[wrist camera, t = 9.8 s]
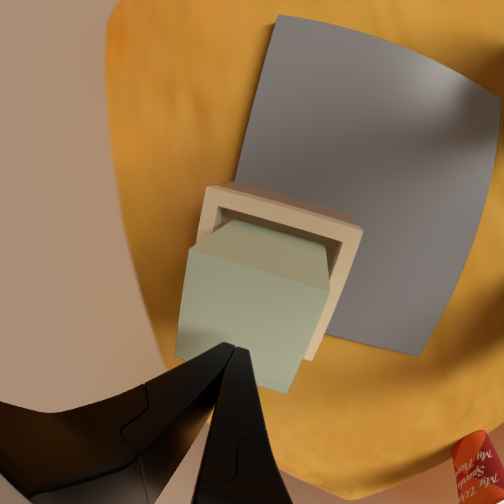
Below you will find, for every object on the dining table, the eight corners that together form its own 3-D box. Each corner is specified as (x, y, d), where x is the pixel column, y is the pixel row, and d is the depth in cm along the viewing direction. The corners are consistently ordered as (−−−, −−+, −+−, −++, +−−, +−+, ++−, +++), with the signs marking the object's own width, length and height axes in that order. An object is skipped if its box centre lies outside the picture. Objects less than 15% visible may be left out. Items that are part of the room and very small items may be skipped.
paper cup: (475, 421, 21) (503, 507, 8) (500, 427, 21) (527, 499, 8) (433, 457, 24) (446, 539, 11) (462, 460, 23) (478, 531, 10)
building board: (495, 101, 13) (540, 89, 7) (415, 349, 20) (435, 397, 15) (279, 20, 16) (265, -25, 10) (213, 292, 23) (181, 332, 17)
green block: (324, 244, 15) (330, 291, 9) (297, 323, 16) (286, 393, 11) (234, 218, 15) (188, 248, 10) (217, 298, 17) (174, 356, 11)
